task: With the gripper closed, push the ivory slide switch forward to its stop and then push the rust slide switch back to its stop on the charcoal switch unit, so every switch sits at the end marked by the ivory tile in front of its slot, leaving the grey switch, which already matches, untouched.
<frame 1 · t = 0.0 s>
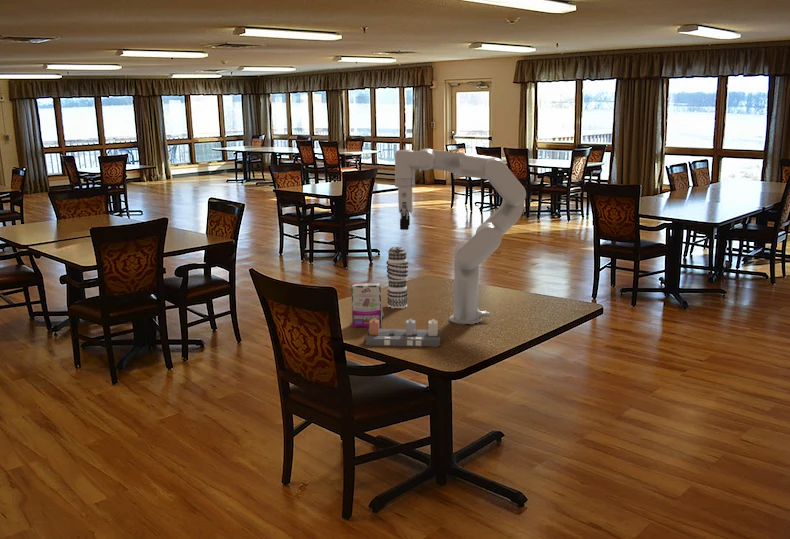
hand: (404, 227, 279), 37 cm above the table, tool pointing down, fingers open, 9 cm apart
slider ivory: (433, 327, 259), point 5 cm above the table, slide at -2.5 cm
slider grey: (410, 326, 259), point 5 cm above the table, slide at -2.5 cm, touching switch unit
decorative candle: (397, 306, 307), on the table
ceramic mug: (371, 319, 288), on the table
candy bar box: (367, 326, 279), on the table
slider rust: (374, 326, 260), point 5 cm above the table, slide at 2.5 cm
switch unit: (403, 340, 261), on the table
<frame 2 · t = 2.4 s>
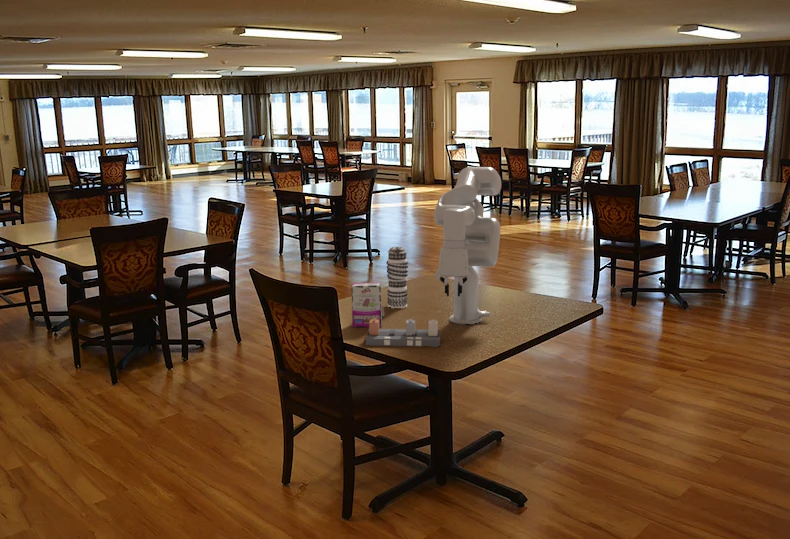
hand: (453, 294, 256), 17 cm above the table, tool pointing down, fingers open, 3 cm apart
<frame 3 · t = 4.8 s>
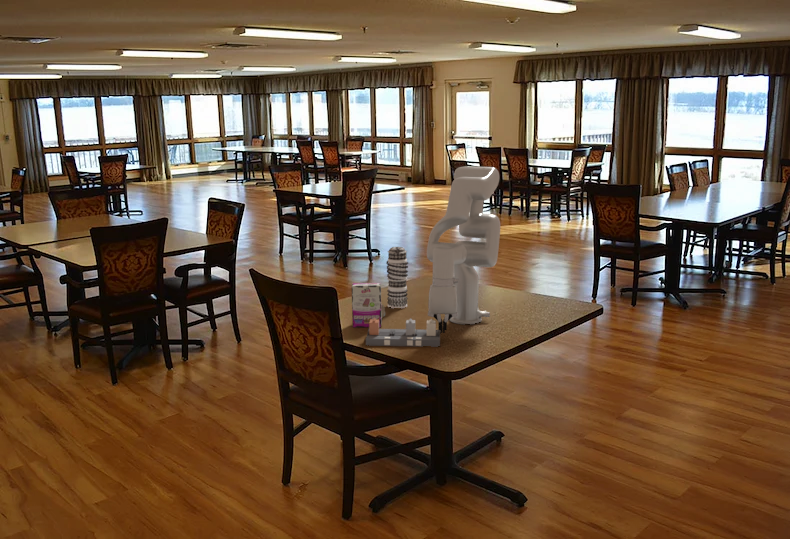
hand: (442, 332, 259), 4 cm above the table, tool pointing down, fingers closed
slider ivory: (431, 327, 259), point 5 cm above the table, slide at -1.8 cm, touching gripper
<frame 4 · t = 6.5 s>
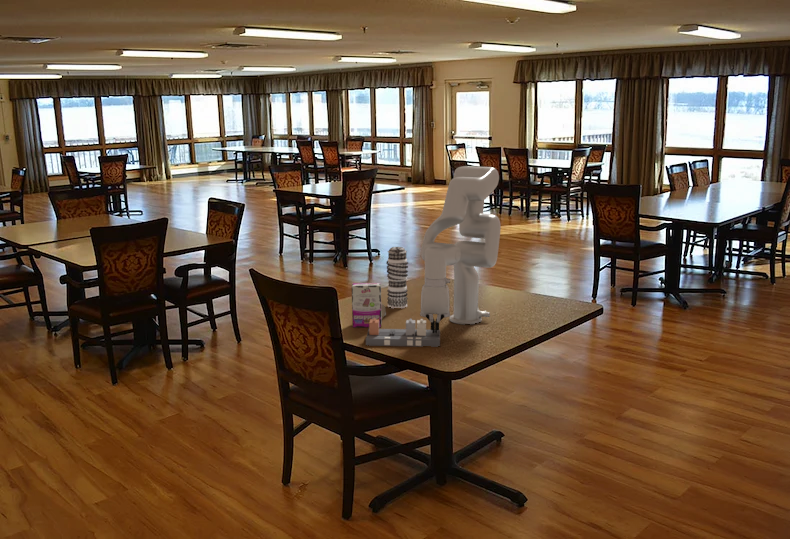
hand: (434, 332, 259), 3 cm above the table, tool pointing down, fingers closed
slider ivory: (421, 327, 259), point 5 cm above the table, slide at 1.6 cm
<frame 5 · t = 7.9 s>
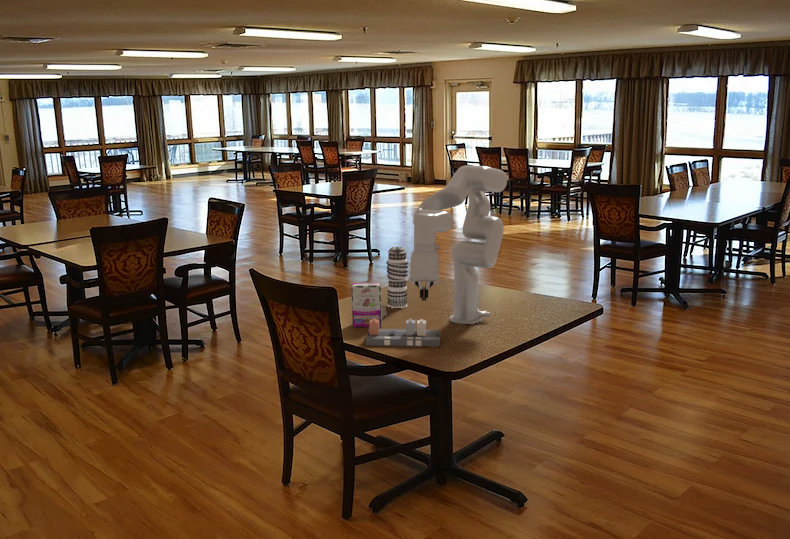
hand: (423, 299, 257), 15 cm above the table, tool pointing down, fingers closed
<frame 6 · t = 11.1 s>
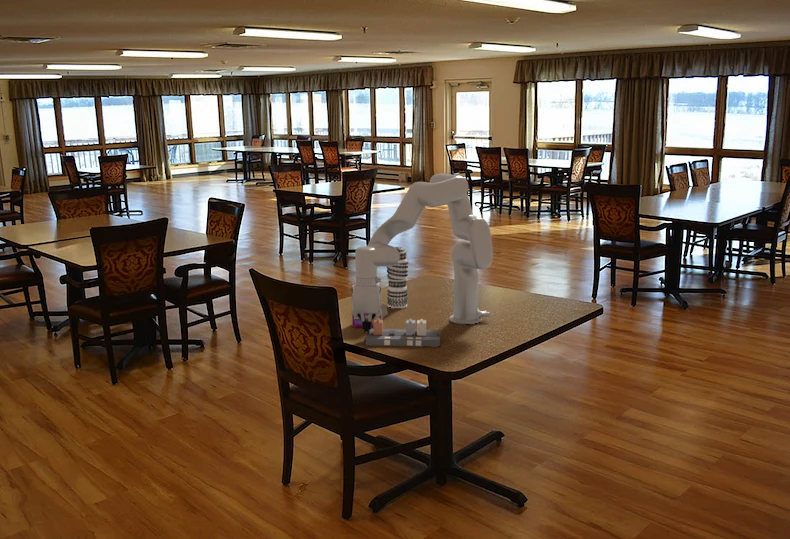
hand: (366, 331, 261), 3 cm above the table, tool pointing down, fingers closed
slider rust: (378, 326, 260), point 5 cm above the table, slide at 1.1 cm, touching gripper
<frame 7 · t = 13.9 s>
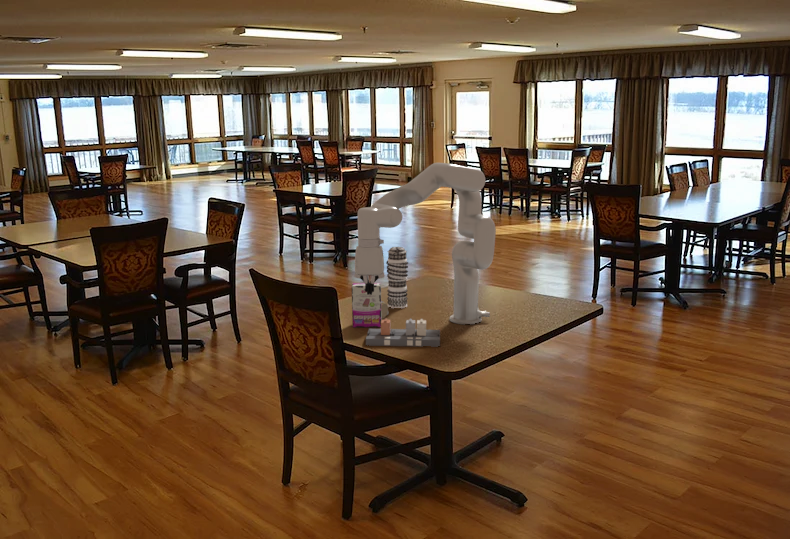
hand: (369, 293, 258), 17 cm above the table, tool pointing down, fingers closed
slider rust: (385, 326, 260), point 5 cm above the table, slide at -1.6 cm, touching switch unit
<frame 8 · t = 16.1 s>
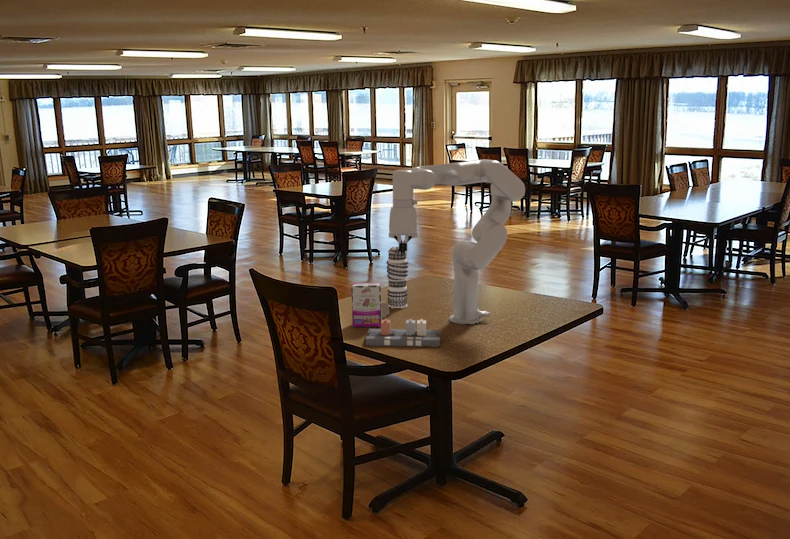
hand: (403, 253, 269), 29 cm above the table, tool pointing down, fingers closed
at the end: slider ivory slide at 1.6 cm; slider rust slide at -1.6 cm; slider grey slide at -2.5 cm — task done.
